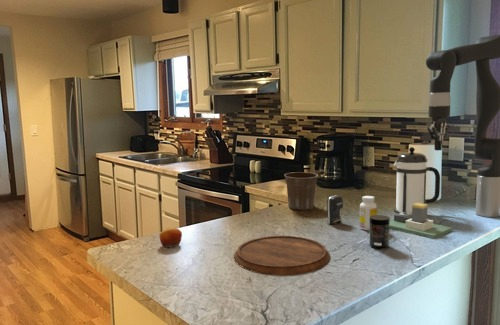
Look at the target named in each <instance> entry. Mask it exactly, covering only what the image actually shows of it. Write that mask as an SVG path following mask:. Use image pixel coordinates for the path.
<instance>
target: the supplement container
mask: <svg viewBox="0 0 500 325" xmlns="http://www.w3.org/2000/svg"><path fill="white" fill-rule="evenodd" d="M390 220H391V219H390V216H387V215H383V214H377V215H372V216H370V221H369V222H370V230H368V232H369V235H368V236H369V237H368V238H369V246H370V247H371V248H373V249H376V250H385V249H388V248H389V246H390V228H389V223H390Z"/></svg>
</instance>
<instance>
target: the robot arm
mask: <svg viewBox="0 0 500 325" xmlns="http://www.w3.org/2000/svg"><path fill="white" fill-rule="evenodd" d="M497 59H500V34H495V35H490V36H489V35H488V36H482V37H479V38H478V39H477V40H476V42H475V43H472V44H464V45H460V46H455V47H453V48H450V49H444V50H438V51H433V52H431V53H429V54H428V56H426V59H425V65H426V68H428V69H429V70H430V71H432V72H433V71H435V72H436V71H440V72H439V73H438V75H437V76H435V77H432V78H431V79H430V83H429V97H428V118H430V119H431V121H430V122H431V125H430V126H427V132H428V134H429V137H430V139H431V140H433V141H434V146H433V147H434V151H437V152H438V151H442V150H443V149H442V148H443V141H444V139H446V137H447V135H448V132H449V131H450V130H449V129H450V125H449V124H447V118H450V117H451V102H452V99H451V81H452V78H453V74H454V72H455V69H456V67H459V66H462V65H465V64H468V63H473V62H474V63H475V72H476V95H475V96H476V99H475V100H476V101H475V105H476V108H475V110H476V114H475V115H476V116H475V117H476V121H475V122H476V123H475V124H476V125H475V136H474V137H475V138H474V145H473V146H474V147H473V148H474V149H473V153H474V156H475V158H476V159H479V160H487V161H488V160H489V161H491V164H489V165H486V166H482V167H479V168H477V172H476V173H477V174H476V175H477V176H476V177H477V178H476V194H475V195H476V197H475V198H476V200H475V215H477V216H480V217H487V218H495V217H496V218H497V217H500V138H497V137H496V138H492V137H491V138H490V137H487V133H488V128H489V126H490V124H491V123H492V122H493V120H494V119H495V118H496V116H497V115H498V113H499V112H500V84H498V82H497V80H496V79H495V77H494V75H493V74H492V71H491V67H490V66H491V65H490V60H497Z"/></svg>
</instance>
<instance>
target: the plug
mask: <svg viewBox="0 0 500 325" xmlns="http://www.w3.org/2000/svg"><path fill="white" fill-rule="evenodd" d="M427 214H428V203H426V204H422V203H416V204H413V205H412V221H414V222H418V223H425V222H427V219H428V216H427Z"/></svg>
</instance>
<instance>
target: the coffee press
mask: <svg viewBox="0 0 500 325" xmlns="http://www.w3.org/2000/svg"><path fill="white" fill-rule="evenodd" d="M408 151H409V152H401V153H400V154H398V155H397V158H395V159H396V160H395V162H394V163H393V167H396V168H395V170H396V192H395V193H396V195H395V196H396V202H395V204H396V205H395V207H394V209H393V212H394V213H397V212H399V213H401V212H406V213H410V214H412V205H413V204H416V203H422V204H433V203H435V202H437V200H438V199H439V197H440V191H441V190H440V188H441V175H440V172H439V170H438V169H437V168H435V167H433V166H428V167H427V163H428V158H427V156H426V155H425V154H423V153H421V152H415V148H414V147H413V146H412V147H409V149H408ZM428 171H430V172H432V173H433V174H434V177H435V178H434V195H433V196H432V197H431V198H426V194H427V193H426V191H427V189H426V188H427V173H428ZM428 216H429V214H428V213H427V217H428Z"/></svg>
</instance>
